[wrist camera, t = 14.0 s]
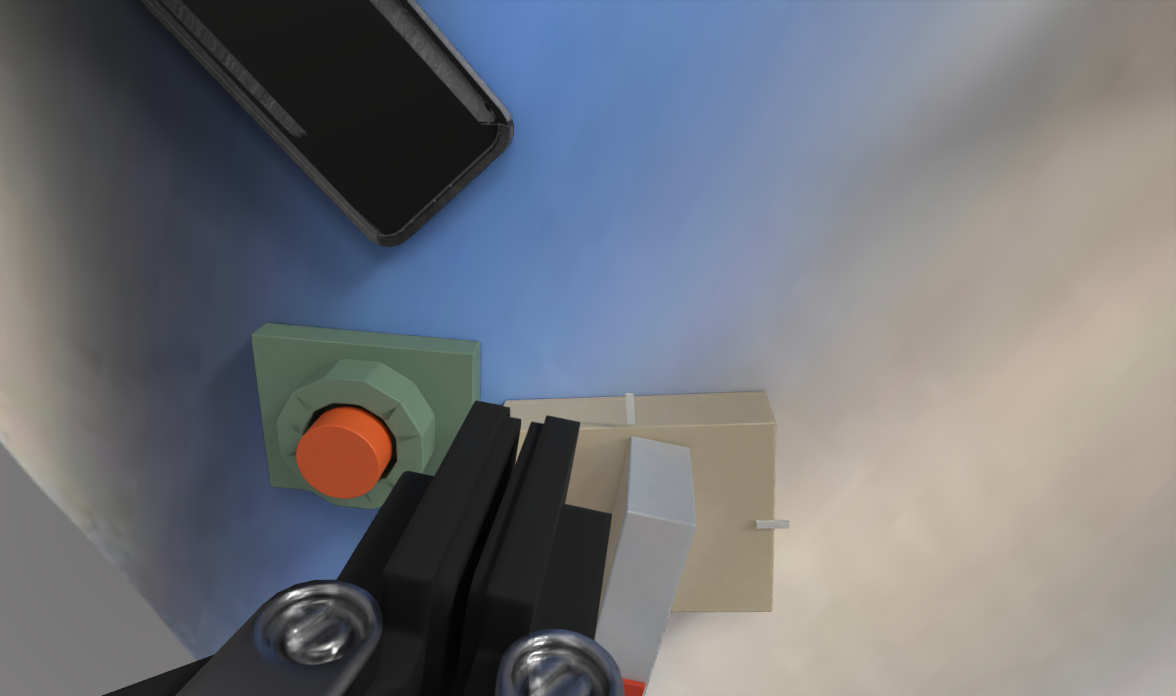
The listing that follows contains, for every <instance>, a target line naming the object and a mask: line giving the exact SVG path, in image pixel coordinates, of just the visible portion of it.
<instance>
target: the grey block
mask: <svg viewBox="0 0 1176 696" xmlns="http://www.w3.org/2000/svg"><path fill="white" fill-rule="evenodd" d="M611 514H612V519H611V527H610V534H609V541H608V548H607V555H606V562H605V569H604V576H603V584H602V591H601V598H600V605H599V612H598V619H597V626H596V633H595V640H594V641H596V642H597V643H599V644H600V645H601V646H602V647H603V648H604V649H606V650H607V651H608V652H609V653H610V654H611V656H612V657H613V659H614V660H615V662H616V663H617V665H618V666H619V669H620V672H621V676H622V680H623V683H624V693H625V696H645V693H646V689H647V686H648V683H649V680H650V676H651V673H652V670H653V667H654V663H655V660H656V657H657V654H658V650H659V647H660V644H661V641H662V637H663V634H664V631H665V628H666V624H667V621H668V618H669V615H670V611H671V608H672V605H673V602H674V598H675V595H676V592H677V589H678V585H679V582H680V579H681V576H682V572H683V569H684V566H685V563H686V559H687V556H688V553H689V549H690V546H691V543H692V540H693V536H694V533H695V530H696V527H697V525H696V513H695V501H694V489H693V477H692V464H691V452H690V448H689V447H684V446H679V445H675V444H670V443H665V442H660V441H656V440H651V439H646V438H641V437H637V436H631V437H630V440H629V444H628V448H627V452H626V456H625V460H624V464H623V468H622V472H621V476H620V480H619V484H618V488H617V492H616V496H615V500H614V504H613V508H612V512H611Z"/></svg>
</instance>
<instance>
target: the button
mask: <svg viewBox="0 0 1176 696" xmlns="http://www.w3.org/2000/svg"><path fill="white" fill-rule="evenodd" d="M392 448H393V446H392V440H391V437H390V434H389V432H388V430H387V428H386V427H385V426H384V424H383V423H382V422H381V421H380V420H379V419H378V418H377V417H375V416H374V415H373V414H371V413H369V412H367V411H365V410H363V409H360V408H356V407H351V406H342V407H336V408H332V409H330V410H328V411H326V412H324V413H323V414H322V415H321V416H320V417H319V418H318V419H317V420H316V421H315V422H314V424H313V425H312V426H311V427H310V428H309V429H308V431H307V432H306V433H305V434H304V435H303V436H302V438H301V439H300V441H299V443H298V446H297V449H296V461H297V465H298V468H299V470H300V472H301V474H302V476H303V477H304V478H305V480H306V481H307V482H308V483H309V484H310V485H311V486H312V487H314V488H315V489H316V490H318V491H319V492H321V493H323V494H325V495H328V496H331V497H335V498H341V499H349V498H355V497H359V496H361V495H363V494H365V493H367V492H368V491H370V490H371V489H372V488H373V487H374V485H375V484H376V483H377V481H378V479H379V478H380V476H381V474H382V473H383V471H384V470H385V468H386V466H387V465H388V463H389V461H390V459H391V456H392Z"/></svg>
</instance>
